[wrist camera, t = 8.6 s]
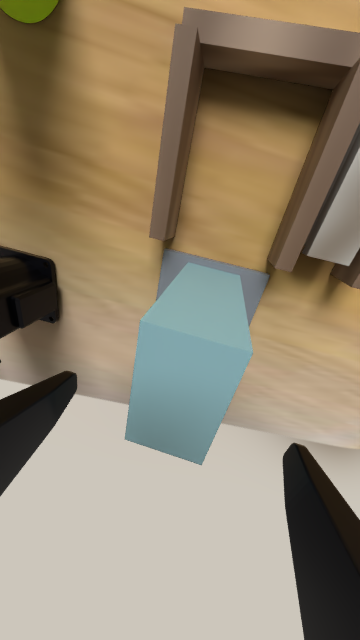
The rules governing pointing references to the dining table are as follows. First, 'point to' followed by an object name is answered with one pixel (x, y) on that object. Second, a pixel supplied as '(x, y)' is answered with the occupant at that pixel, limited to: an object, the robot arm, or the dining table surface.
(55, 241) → the dining table surface
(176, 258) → the slate mat
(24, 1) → the soap dispenser
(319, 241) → the gray notched block
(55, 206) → the dining table surface
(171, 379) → the light blue rectangular prism
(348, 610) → the robot arm
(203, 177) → the dining table surface
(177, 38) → the walnut rack
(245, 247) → the dining table surface
